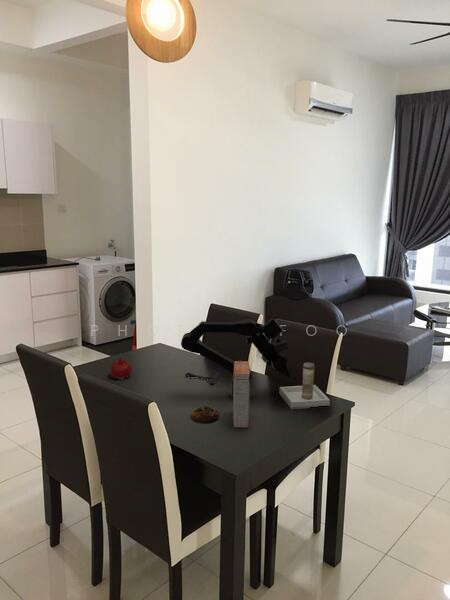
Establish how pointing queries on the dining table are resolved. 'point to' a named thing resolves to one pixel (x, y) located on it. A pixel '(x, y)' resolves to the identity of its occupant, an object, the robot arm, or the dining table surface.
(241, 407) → the cracker box
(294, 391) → the tray
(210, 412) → the bread roll
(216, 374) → the dark grey t-shape
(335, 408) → the dining table surface
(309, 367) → the handle post
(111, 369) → the pomegranate
